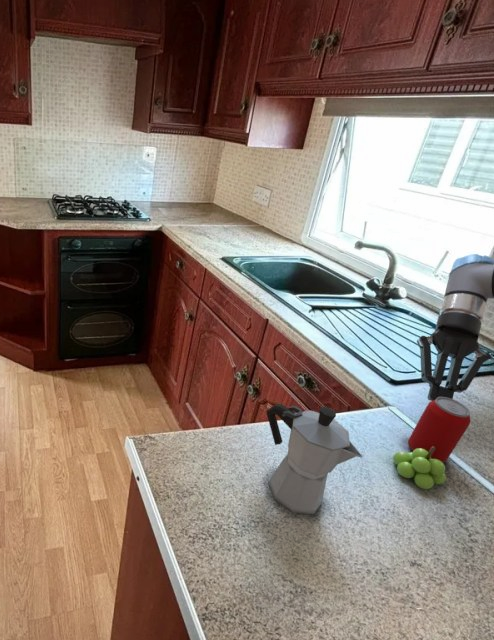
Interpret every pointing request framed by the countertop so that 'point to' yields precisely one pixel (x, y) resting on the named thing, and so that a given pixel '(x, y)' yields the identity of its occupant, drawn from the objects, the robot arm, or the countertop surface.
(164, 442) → the countertop surface
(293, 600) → the countertop surface
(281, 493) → the coffee maker
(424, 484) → the grape bunch
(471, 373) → the robot arm
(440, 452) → the beverage can
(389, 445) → the countertop surface
